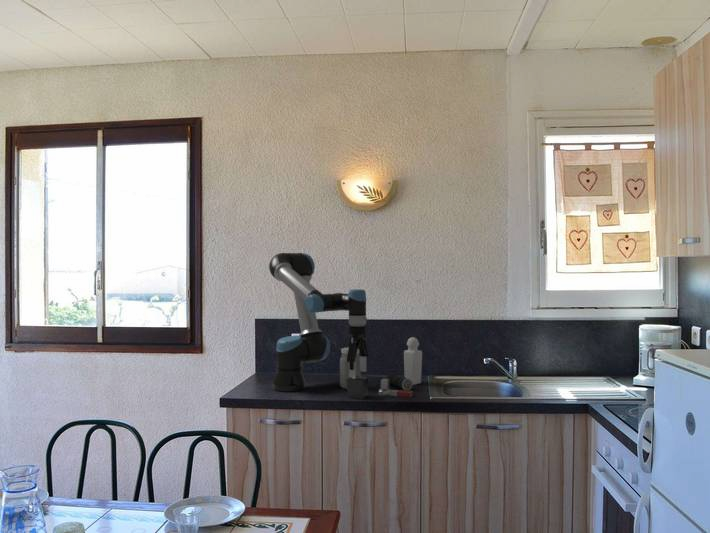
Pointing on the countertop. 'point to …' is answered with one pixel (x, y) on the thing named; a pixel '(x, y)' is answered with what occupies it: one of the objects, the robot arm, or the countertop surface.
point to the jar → (347, 367)
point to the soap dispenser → (413, 361)
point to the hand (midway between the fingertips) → (357, 374)
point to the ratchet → (389, 392)
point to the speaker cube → (357, 387)
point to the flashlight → (399, 382)
